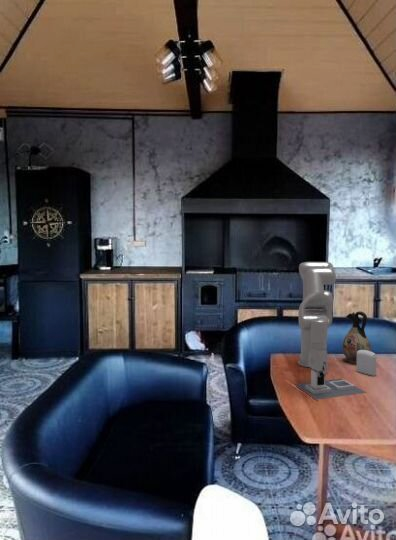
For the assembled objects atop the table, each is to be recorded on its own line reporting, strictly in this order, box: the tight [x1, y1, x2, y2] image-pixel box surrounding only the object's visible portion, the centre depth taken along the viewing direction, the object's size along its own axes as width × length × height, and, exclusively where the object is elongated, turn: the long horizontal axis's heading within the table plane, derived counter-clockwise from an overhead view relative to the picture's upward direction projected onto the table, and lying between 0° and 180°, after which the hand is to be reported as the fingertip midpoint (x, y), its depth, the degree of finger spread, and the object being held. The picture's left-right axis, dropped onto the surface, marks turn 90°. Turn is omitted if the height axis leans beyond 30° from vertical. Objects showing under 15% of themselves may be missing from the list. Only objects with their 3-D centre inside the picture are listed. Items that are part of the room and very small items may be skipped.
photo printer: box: [355, 350, 377, 377], centre depth 229 cm, size 10×4×12 cm, turn 39°
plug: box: [310, 369, 326, 389], centre depth 204 cm, size 4×6×8 cm
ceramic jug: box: [341, 311, 372, 364], centre depth 248 cm, size 17×15×30 cm
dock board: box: [294, 378, 367, 402], centre depth 206 cm, size 20×26×2 cm
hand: (317, 382), depth 204 cm, fingers closed on plug, 4 cm apart
